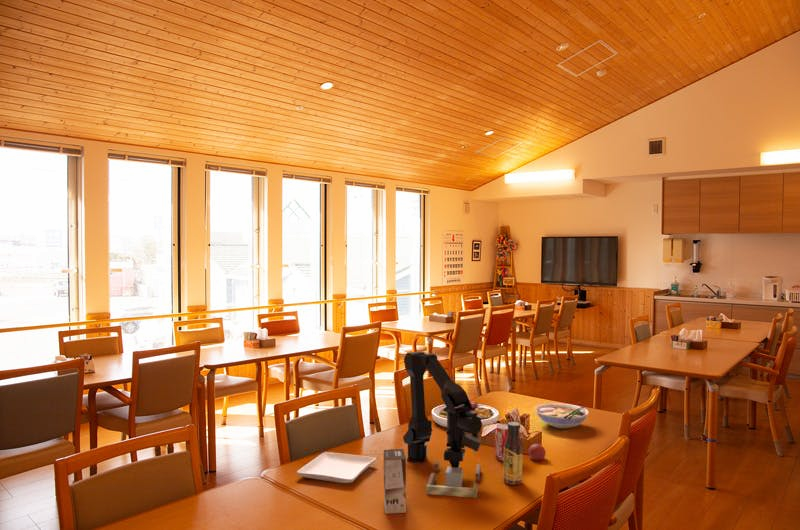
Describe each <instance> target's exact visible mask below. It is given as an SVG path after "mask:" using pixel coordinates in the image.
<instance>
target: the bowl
mask: <svg viewBox="0 0 800 530" xmlns="http://www.w3.org/2000/svg"><path fill="white" fill-rule="evenodd" d="M470 403H471V404H472V408H473V411H470V412H475V413H477V417H479V418H480V420H481V422H482V425H486V424H493V423H495V424H496V423H497V421H498V420H499V416H500V412H499V411H498V410H497V409H496V408H494V407H491V406H489V405H485V404H479V403H478V402H477V401H475V400H473V401H470ZM464 406H465V405H464ZM464 406H459V407H464ZM445 407H446V405H445V404H441V405H440V404H439V405H438V406H436V407H434V408H433V409H432V410H431V417H432V419H433V421H434V422H435V423H436V424H438V425H439V426H441V427H443V428H446V429H447V412H445V411H443V409H444V408H445ZM459 407H455V408H459Z"/></svg>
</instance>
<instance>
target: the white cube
mask: <svg viewBox="0 0 800 530" xmlns="http://www.w3.org/2000/svg"><path fill="white" fill-rule="evenodd" d="M445 486H453V487H463V467H459V468H457V467H451V466H447V468H446V470H445Z"/></svg>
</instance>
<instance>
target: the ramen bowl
mask: <svg viewBox="0 0 800 530" xmlns="http://www.w3.org/2000/svg"><path fill="white" fill-rule="evenodd" d="M585 407H586V404H584V405H582V406H579V405H574V404H570V403H560V402H559V403H543V404H540V405H539V404H538V405H536V406H535V407H534V410H535V412H536V414H537V415H538V417H539V419H540V420H541V421H542V422H543V423H545V424H547V425H549V426H552V427H553V428H554V429H557V430H558V429H559V430H569V429H570V428H574V427H576V426H579V425H580V424H582V423H583V422H584V421H585V420H586V418H587V416H588V414H589V413H590V412H589V410H588V409H587V408H585Z"/></svg>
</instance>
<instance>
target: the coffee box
mask: <svg viewBox="0 0 800 530" xmlns="http://www.w3.org/2000/svg"><path fill="white" fill-rule="evenodd" d="M406 488H407V457H406V454H405V450H404V449H403V448H390V449H383V503H384V505H383V506H384V513H385V514H386V515H387V514H406V513H407V489H406Z"/></svg>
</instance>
